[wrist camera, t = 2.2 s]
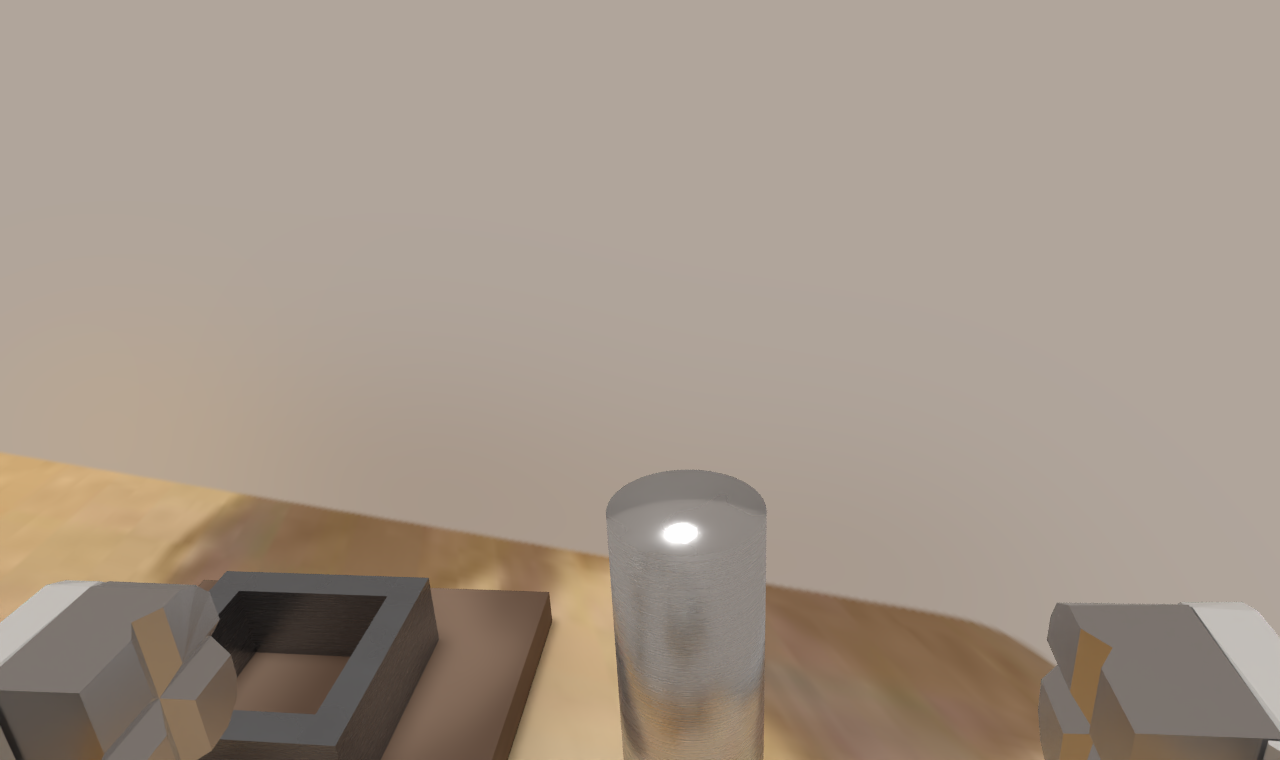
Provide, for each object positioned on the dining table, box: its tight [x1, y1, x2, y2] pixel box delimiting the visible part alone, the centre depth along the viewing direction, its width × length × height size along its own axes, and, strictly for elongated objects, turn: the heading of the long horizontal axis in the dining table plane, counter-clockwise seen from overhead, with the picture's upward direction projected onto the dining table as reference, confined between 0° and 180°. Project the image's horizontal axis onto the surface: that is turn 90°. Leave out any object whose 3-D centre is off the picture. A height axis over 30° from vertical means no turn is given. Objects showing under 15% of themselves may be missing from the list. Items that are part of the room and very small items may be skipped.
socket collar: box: [198, 571, 439, 760], centre depth 32 cm, size 8×8×3 cm
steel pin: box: [606, 470, 766, 760], centre depth 25 cm, size 4×4×13 cm
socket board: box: [198, 580, 552, 760], centre depth 32 cm, size 16×15×2 cm
